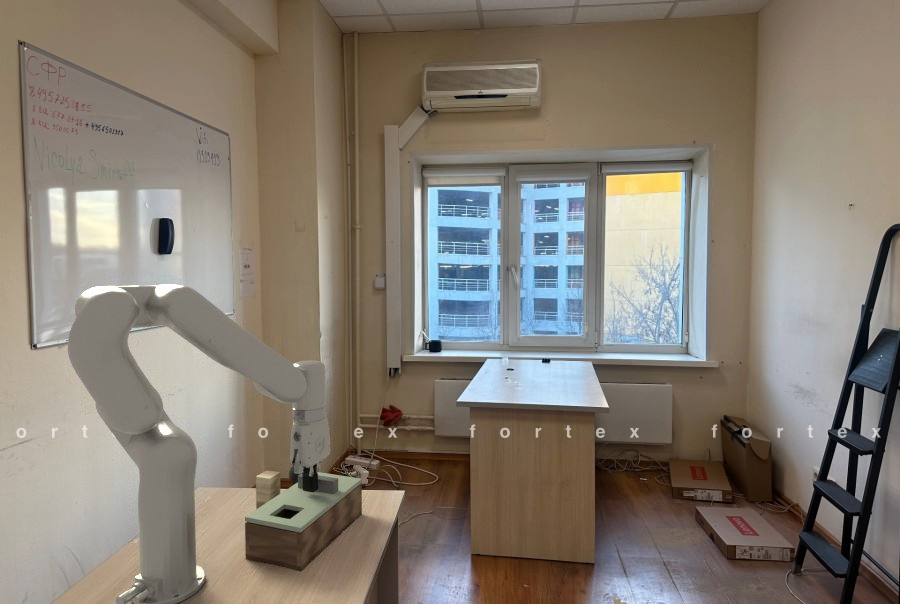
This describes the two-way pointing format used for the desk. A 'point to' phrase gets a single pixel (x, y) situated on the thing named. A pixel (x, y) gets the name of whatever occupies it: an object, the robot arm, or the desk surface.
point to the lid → (304, 502)
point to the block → (267, 487)
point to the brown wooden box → (301, 535)
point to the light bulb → (293, 476)
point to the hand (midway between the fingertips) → (310, 490)
